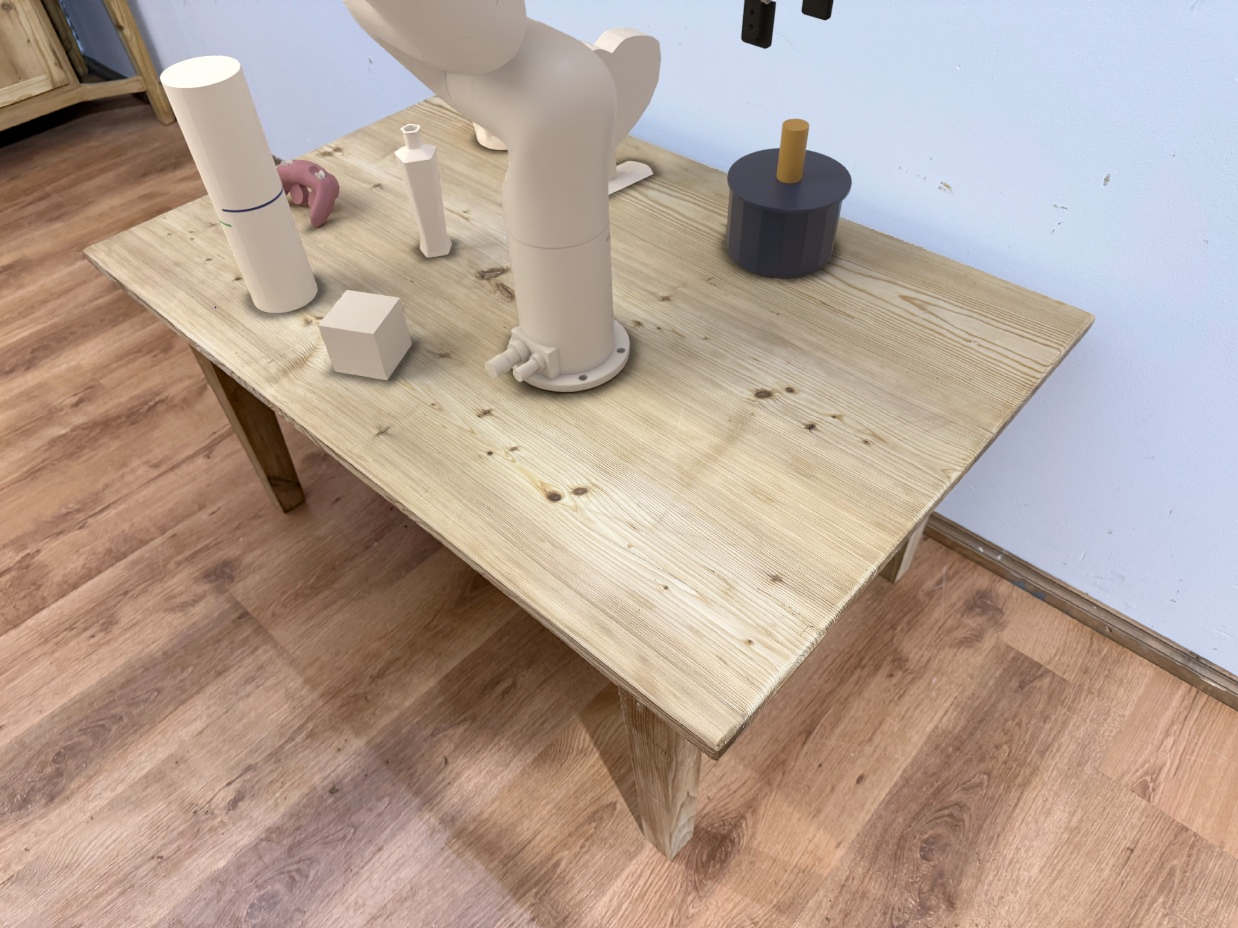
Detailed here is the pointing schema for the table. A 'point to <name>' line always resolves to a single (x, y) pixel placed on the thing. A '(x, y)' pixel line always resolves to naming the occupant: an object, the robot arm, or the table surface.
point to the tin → (780, 239)
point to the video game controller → (314, 177)
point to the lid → (789, 175)
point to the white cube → (366, 334)
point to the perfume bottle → (424, 191)
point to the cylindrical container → (241, 179)
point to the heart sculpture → (628, 91)
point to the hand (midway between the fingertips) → (786, 30)
